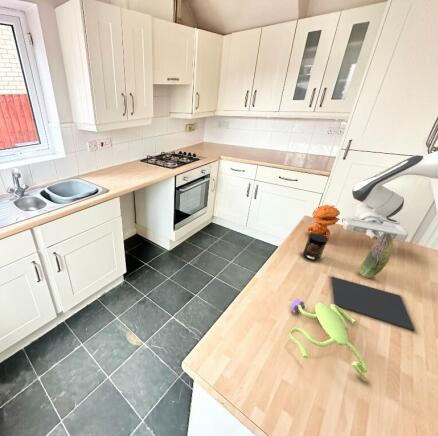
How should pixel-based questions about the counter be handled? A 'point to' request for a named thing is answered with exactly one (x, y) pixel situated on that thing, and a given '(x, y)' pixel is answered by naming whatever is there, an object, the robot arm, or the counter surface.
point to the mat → (371, 302)
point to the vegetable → (377, 256)
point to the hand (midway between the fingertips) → (376, 238)
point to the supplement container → (314, 247)
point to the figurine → (329, 330)
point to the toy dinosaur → (324, 220)
